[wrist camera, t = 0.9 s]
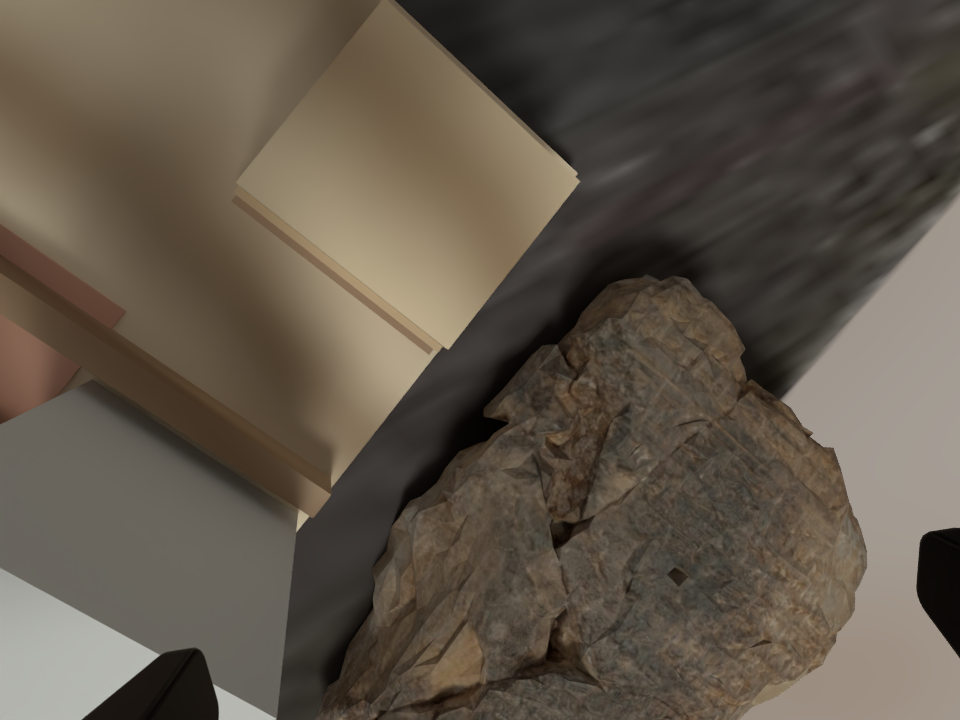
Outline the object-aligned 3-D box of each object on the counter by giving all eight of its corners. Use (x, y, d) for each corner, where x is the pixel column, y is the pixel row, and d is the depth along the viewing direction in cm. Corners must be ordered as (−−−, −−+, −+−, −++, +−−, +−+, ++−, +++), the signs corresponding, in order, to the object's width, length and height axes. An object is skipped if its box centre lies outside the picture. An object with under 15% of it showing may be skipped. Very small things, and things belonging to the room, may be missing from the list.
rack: (204, 641, 20) (189, 688, 18) (-290, 363, 16) (-387, 378, 14) (568, 176, 20) (598, 166, 18) (172, -194, 17) (149, -264, 15)
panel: (255, 568, 19) (197, 820, 10) (43, 439, 17) (-236, 612, 9) (298, 513, 19) (276, 719, 11) (92, 379, 17) (-139, 492, 9)
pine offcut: (439, 344, 17) (448, 350, 16) (242, 188, 15) (235, 182, 14) (562, 187, 17) (579, 181, 16) (379, 17, 16) (384, -3, 14)
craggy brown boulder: (492, 913, 24) (860, 516, 25) (528, 1071, 19) (981, 574, 20) (188, 695, 21) (623, 247, 22) (141, 822, 16) (701, 241, 17)
